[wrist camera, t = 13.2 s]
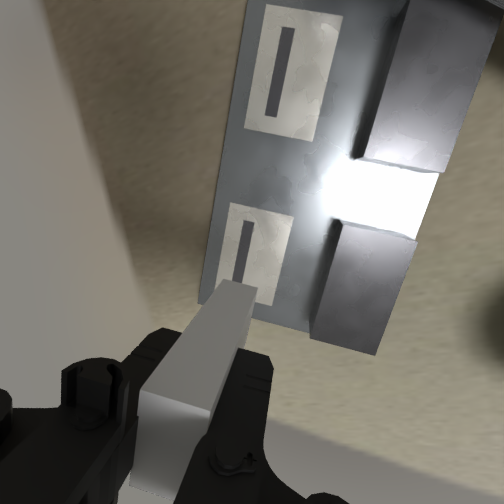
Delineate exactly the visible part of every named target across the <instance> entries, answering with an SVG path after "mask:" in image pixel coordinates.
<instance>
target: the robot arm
mask: <svg viewBox="0 0 504 504" xmlns="http://www.w3.org/2000/svg"><path fill="white" fill-rule="evenodd" d="M257 291H258V287H254V286H250V285H246V284H242V283H238V282H235V281H231V280H227V279H223V280H222V281H221V283H220V284H219V285H218V287H217V288H216V289H215V291H214V292H213V293H212V295H211V296H210V297H209V299H208V300H207V301H206V303H205V304H204V305H203V306H202V308H201V309H200V310H199V312H198V313H197V314H196V316H195V317H194V318H193V320H192V321H191V322H190V324H189V325H188V326H187V328H186V329H185V330H184V332H183V333H181V332H177V331H174V330H170V329H166V328H161V329H158V330H156V331H154V332H152V333H150V334H149V335H147V337H146V338H145V339H144V340H143V341H142V342H141V343H140V344H139V346H137V347H136V348H135V349H134V350H133V351H132V352H131V354H130V355H128V356H127V357H126V358H125V359H124V360H123V361H122V362H118V361H117V360H114V359H109V358H102V357H100V358H91V359H85V360H82V361H79V362H76V363H73V364H71V365H70V366H68V367H67V368H65V369H63V370H62V373H61V374H62V375H61V377H62V378H61V405H60V406H59V407H58V408H12V398H11V396H10V395H9V393H8V392H7V391H5V390H3V389H0V504H117V502H118V491H119V489H120V488H121V486H122V484H123V482H124V481H125V479H126V477H127V475H128V474H129V472H130V470H131V473H130V482H129V486H132V487H135V488H138V489H140V490H143V491H146V492H149V493H152V494H155V495H158V496H161V497H163V498H166V499H169V500H172V501H174V503H173V504H349V503H347V502H346V501H344V500H343V499H342V498H340V497H339V496H335V495H331V494H328V493H325V492H324V493H317V494H311V495H310V496H309V497H308V498H307V499H305V498H303V497H302V496H301V495H299V494H298V493H297V492H295V491H294V490H292V489H291V488H290V487H288V486H287V485H286V484H285V483H283V482H282V481H281V480H280V479H279V478H278V477H277V476H276V475H275V473H274V472H273V471H272V469H271V468H270V466H269V464H268V462H267V460H266V458H265V454H264V449H263V439H264V433H265V426H266V419H267V412H268V405H269V398H270V391H271V383H272V377H273V370H274V368H273V366H272V363H271V361H270V358H269V356H266V355H263V354H259V353H256V352H252V351H249V350H245V349H244V346H245V343H246V339H247V335H248V330H249V326H250V321H251V317H252V313H253V308H254V304H255V300H256V295H257Z"/></svg>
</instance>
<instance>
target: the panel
mask: <svg viewBox="0 0 504 504" xmlns="http://www.w3.org/2000/svg"><path fill="white" fill-rule="evenodd" d="M503 15H504V9H502V8H500V7H498V6H496V5H494V4H492V3H490V2H488V1H486V0H248V3H247V9H246V15H245V21H244V27H243V33H242V39H241V45H240V51H239V57H238V63H237V69H236V75H235V81H234V87H233V93H232V99H231V105H230V111H229V117H228V123H227V129H226V135H225V141H224V147H223V153H222V160H221V166H220V172H219V178H218V184H217V190H216V196H215V202H214V208H213V214H212V220H211V226H210V232H209V238H208V244H207V250H206V256H205V262H204V268H203V274H202V280H201V286H200V292H199V298H198V304H201V305H204V304H205V303H206V301H207V300H208V299H209V297H210V296H211V295H212V293H213V292H214V291H215V289H216V288H217V287H218V285H219V284H220V283H221V281H222V280H223V279H227V280H231V281H235V282H238V283H242V284H246V285H250V286H254V287H258V291H257V295H256V300H255V304H254V308H253V313H252V317H251V318H254V319H258V320H262V321H265V322H269V323H273V324H277V325H280V326H284V327H288V328H292V329H295V330H299V331H303V332H307V333H310V338H311V339H314V340H318V341H322V342H326V343H329V344H333V345H337V346H341V347H344V348H348V349H352V350H355V351H359V352H363V353H367V354H370V355H374V356H375V354H376V352H377V349H378V346H379V344H380V341H381V339H382V336H383V333H384V331H385V328H386V325H387V323H388V320H389V317H390V315H391V312H392V309H393V307H394V304H395V301H396V299H397V296H398V293H399V291H400V288H401V285H402V283H403V280H404V278H405V275H406V272H407V270H408V267H409V264H410V262H411V259H412V256H413V254H414V251H415V248H416V246H417V243H418V241H416V240H415V237H416V234H417V232H418V229H419V226H420V224H421V221H422V218H423V216H424V213H425V210H426V208H427V205H428V202H429V200H430V197H431V194H432V191H433V189H434V186H435V183H436V181H437V178H438V175H439V173H444V171H445V169H446V166H447V163H448V161H449V158H450V156H451V153H452V150H453V148H454V145H455V142H456V140H457V137H458V134H459V132H460V129H461V126H462V124H463V121H464V118H465V116H466V113H467V110H468V108H469V105H470V102H471V100H472V97H473V95H474V92H475V89H476V87H477V84H478V81H479V79H480V76H481V73H482V71H483V68H484V65H485V63H486V60H487V57H488V55H489V52H490V49H491V47H492V44H493V41H494V39H495V36H496V34H497V31H498V28H499V26H500V23H501V20H502V18H503Z"/></svg>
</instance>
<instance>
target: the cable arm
mask: <svg viewBox="0 0 504 504" xmlns="http://www.w3.org/2000/svg"><path fill="white" fill-rule="evenodd" d="M486 1H488V2H490V3H492V4H494V5H496V6H498V7H500V8H502V9H504V0H486Z"/></svg>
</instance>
